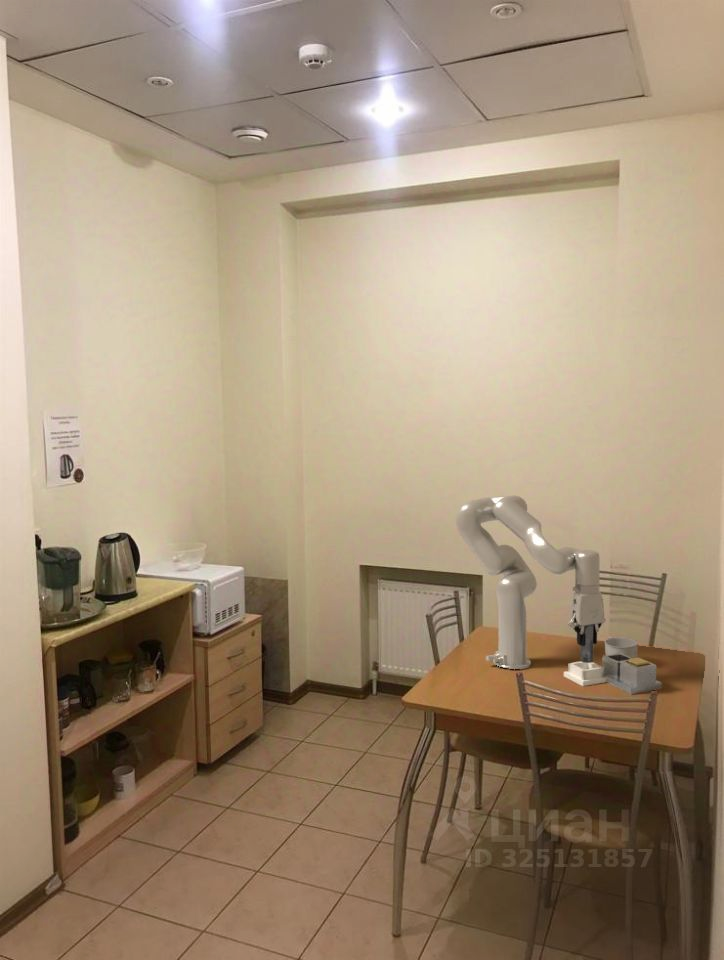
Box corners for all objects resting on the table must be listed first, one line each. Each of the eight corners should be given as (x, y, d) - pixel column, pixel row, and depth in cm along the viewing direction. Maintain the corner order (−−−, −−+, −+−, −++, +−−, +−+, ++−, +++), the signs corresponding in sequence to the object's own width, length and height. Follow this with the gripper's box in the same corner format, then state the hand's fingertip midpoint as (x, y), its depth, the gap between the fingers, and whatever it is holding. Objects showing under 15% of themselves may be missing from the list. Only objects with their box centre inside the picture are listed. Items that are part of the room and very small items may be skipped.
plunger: (637, 682, 242) (637, 663, 241) (627, 677, 246) (627, 659, 245) (648, 680, 243) (648, 661, 243) (638, 675, 247) (638, 657, 247)
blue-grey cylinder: (585, 663, 250) (586, 618, 248) (577, 659, 253) (578, 615, 252) (595, 661, 251) (596, 616, 250) (588, 658, 255) (588, 613, 253)
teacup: (641, 668, 262) (642, 645, 261) (610, 669, 262) (610, 646, 261) (627, 655, 276) (628, 633, 275) (597, 655, 276) (597, 634, 275)
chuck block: (630, 694, 239) (631, 669, 238) (594, 676, 255) (594, 652, 254) (661, 688, 243) (662, 664, 242) (623, 671, 259) (624, 648, 259)
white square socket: (582, 686, 246) (583, 672, 246) (563, 676, 256) (563, 662, 255) (608, 681, 250) (608, 668, 250) (588, 672, 259) (588, 658, 259)
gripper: (572, 594, 243) (572, 650, 245) (616, 588, 250) (615, 643, 251) (558, 589, 250) (558, 644, 252) (600, 583, 257) (600, 637, 258)
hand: (586, 643), depth 252 cm, fingers closed on blue-grey cylinder, 4 cm apart
